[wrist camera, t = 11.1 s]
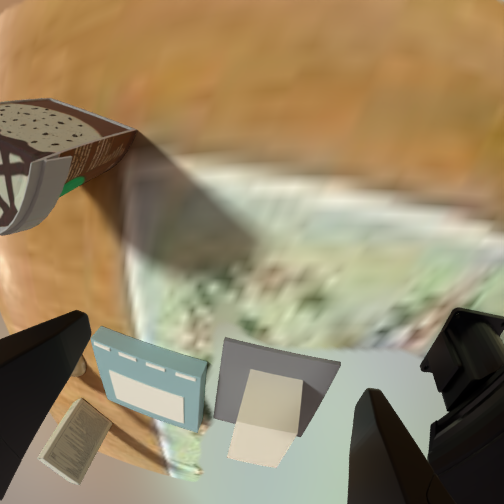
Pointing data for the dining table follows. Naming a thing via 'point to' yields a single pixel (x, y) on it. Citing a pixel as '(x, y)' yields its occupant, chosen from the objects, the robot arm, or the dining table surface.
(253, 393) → the stub
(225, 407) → the mat
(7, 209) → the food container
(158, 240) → the dining table surface
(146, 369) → the ticket book
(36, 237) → the dining table surface
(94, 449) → the skincare box
